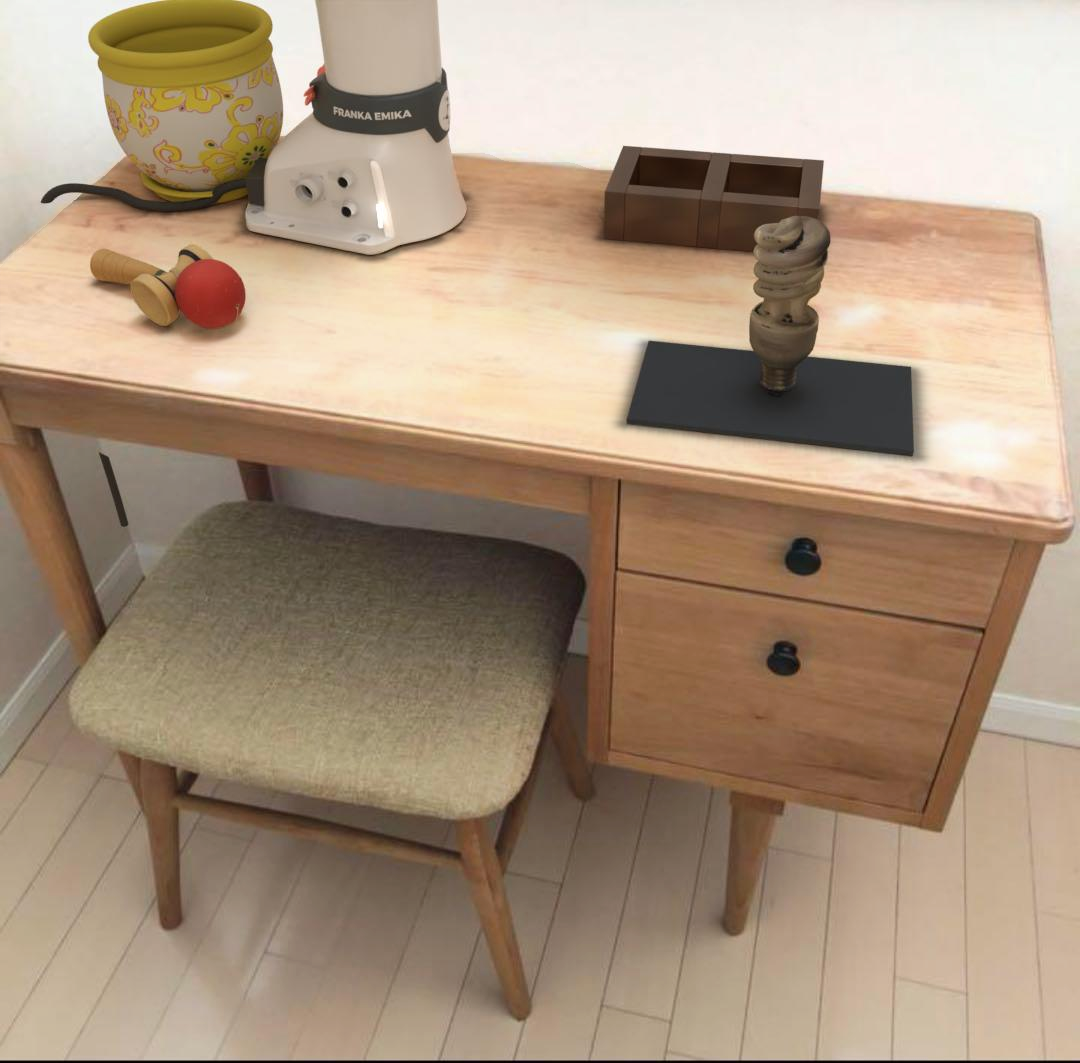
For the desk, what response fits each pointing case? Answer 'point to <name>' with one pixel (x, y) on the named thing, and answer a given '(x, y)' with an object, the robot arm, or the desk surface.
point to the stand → (706, 196)
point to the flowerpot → (190, 92)
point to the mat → (775, 399)
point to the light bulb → (786, 297)
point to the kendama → (177, 286)
